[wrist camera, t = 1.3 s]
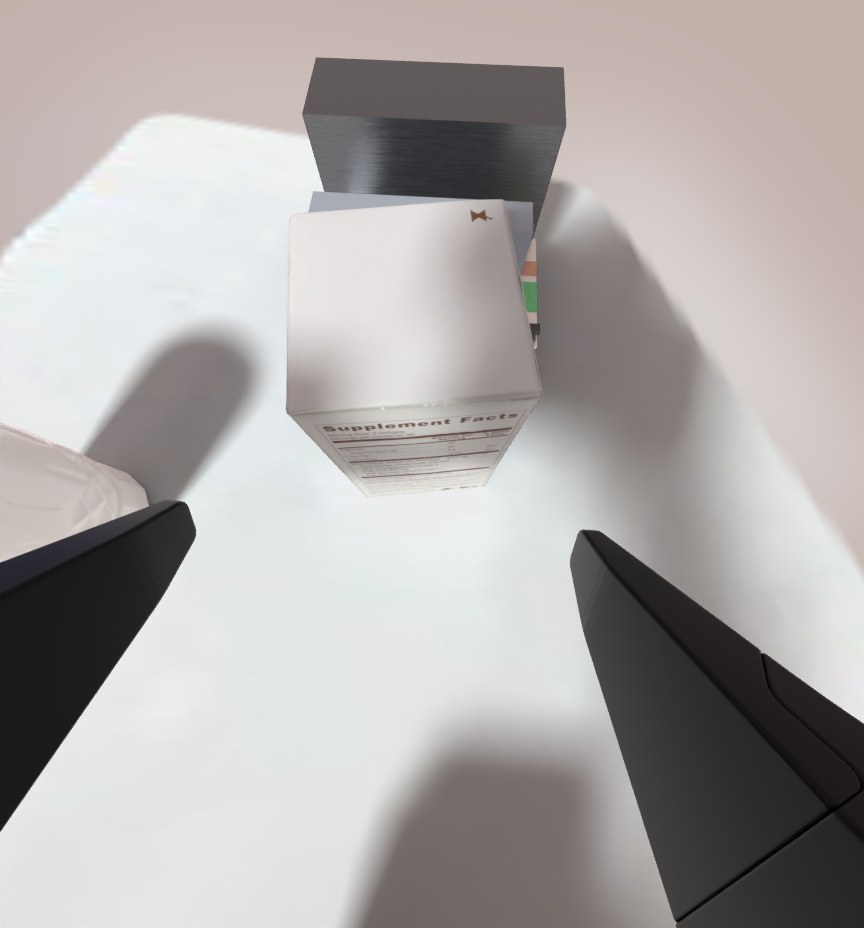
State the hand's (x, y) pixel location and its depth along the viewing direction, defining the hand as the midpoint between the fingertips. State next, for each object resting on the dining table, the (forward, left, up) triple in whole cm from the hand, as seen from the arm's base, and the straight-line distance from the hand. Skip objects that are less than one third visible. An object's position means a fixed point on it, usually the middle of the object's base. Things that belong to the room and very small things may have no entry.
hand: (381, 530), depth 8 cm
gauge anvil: (+16, -6, -13) cm, 21 cm away
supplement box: (+7, -2, -13) cm, 15 cm away
